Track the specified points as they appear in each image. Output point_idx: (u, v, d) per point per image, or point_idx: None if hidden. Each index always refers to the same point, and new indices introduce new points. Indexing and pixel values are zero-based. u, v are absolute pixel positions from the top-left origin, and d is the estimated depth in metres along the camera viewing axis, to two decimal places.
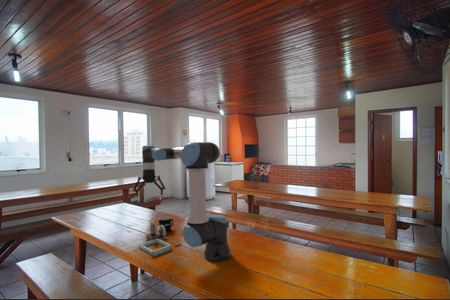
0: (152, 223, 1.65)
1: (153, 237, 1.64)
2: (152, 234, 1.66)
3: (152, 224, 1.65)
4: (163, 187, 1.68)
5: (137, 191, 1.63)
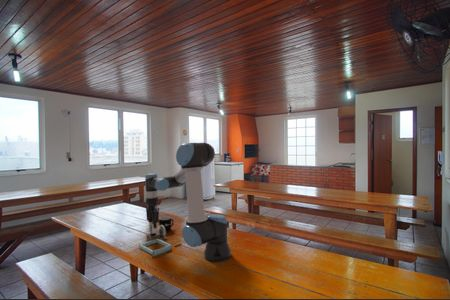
0: None
1: (153, 237, 1.64)
2: (152, 234, 1.66)
3: None
4: (154, 221, 1.63)
5: (149, 221, 1.67)
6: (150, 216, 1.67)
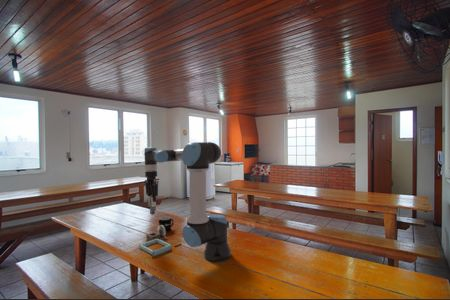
0: None
1: (153, 237, 1.64)
2: (151, 208, 1.65)
3: None
4: (153, 194, 1.62)
5: (148, 195, 1.67)
6: (149, 190, 1.67)
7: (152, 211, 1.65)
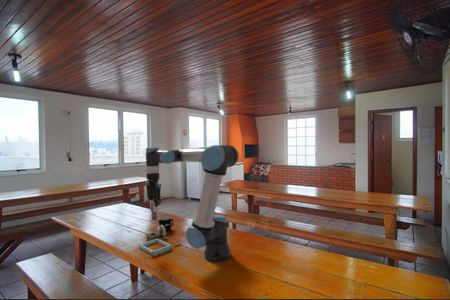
0: None
1: (153, 237, 1.64)
2: (153, 213, 1.52)
3: None
4: (156, 198, 1.49)
5: (149, 199, 1.53)
6: (151, 194, 1.53)
7: (154, 216, 1.52)
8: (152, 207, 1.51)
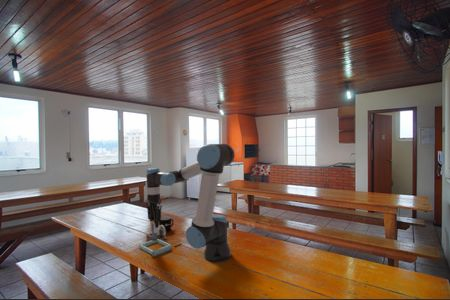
0: None
1: None
2: (154, 234, 1.52)
3: None
4: (156, 219, 1.49)
5: (150, 219, 1.54)
6: (151, 214, 1.54)
7: (154, 237, 1.52)
8: (153, 228, 1.52)
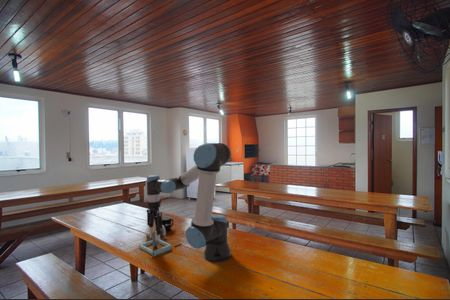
0: (154, 231, 1.52)
1: None
2: (154, 243, 1.52)
3: (154, 232, 1.52)
4: (158, 227, 1.49)
5: (149, 226, 1.55)
6: (151, 221, 1.54)
7: (155, 246, 1.52)
8: (153, 237, 1.52)
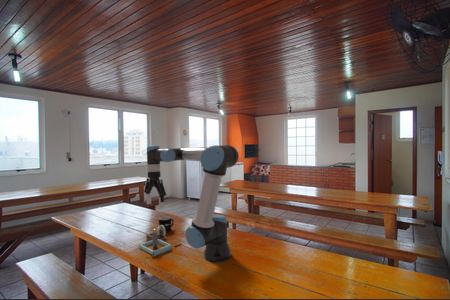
0: (154, 231, 1.52)
1: None
2: (154, 243, 1.52)
3: (154, 232, 1.52)
4: (161, 194, 1.46)
5: (146, 193, 1.57)
6: (149, 189, 1.56)
7: (155, 246, 1.52)
8: (153, 237, 1.52)
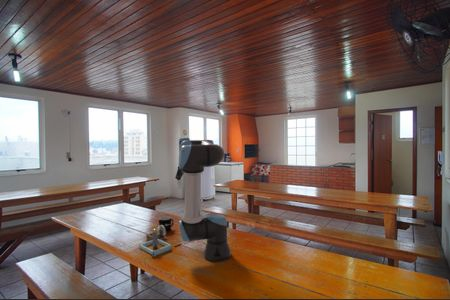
0: (154, 231, 1.52)
1: None
2: (154, 243, 1.52)
3: (154, 232, 1.52)
4: None
5: (177, 179, 1.81)
6: (180, 176, 1.80)
7: (155, 246, 1.52)
8: (153, 237, 1.52)
